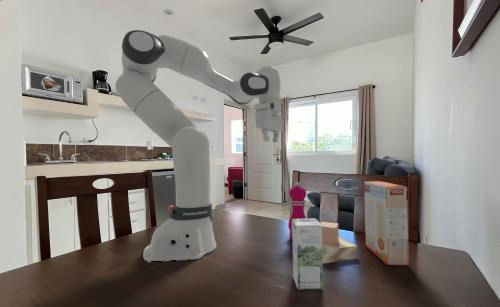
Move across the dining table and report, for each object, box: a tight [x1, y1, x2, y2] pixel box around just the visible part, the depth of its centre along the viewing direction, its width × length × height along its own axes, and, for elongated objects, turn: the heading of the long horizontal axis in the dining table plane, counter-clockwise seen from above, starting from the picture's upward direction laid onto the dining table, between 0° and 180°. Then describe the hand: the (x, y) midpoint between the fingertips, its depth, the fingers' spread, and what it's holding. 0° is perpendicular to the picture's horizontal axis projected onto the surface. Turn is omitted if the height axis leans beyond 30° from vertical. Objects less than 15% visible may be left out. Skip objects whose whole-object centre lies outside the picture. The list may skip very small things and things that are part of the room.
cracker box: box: [363, 180, 410, 266], centre depth 71 cm, size 14×6×21 cm, turn 176°
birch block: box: [322, 236, 359, 265], centre depth 73 cm, size 11×11×4 cm
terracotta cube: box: [319, 221, 339, 245], centre depth 73 cm, size 5×5×5 cm
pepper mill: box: [287, 181, 308, 240], centre depth 87 cm, size 7×7×20 cm
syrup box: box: [291, 218, 324, 291], centre depth 56 cm, size 6×6×14 cm
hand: (271, 141), depth 99 cm, fingers open, 8 cm apart
